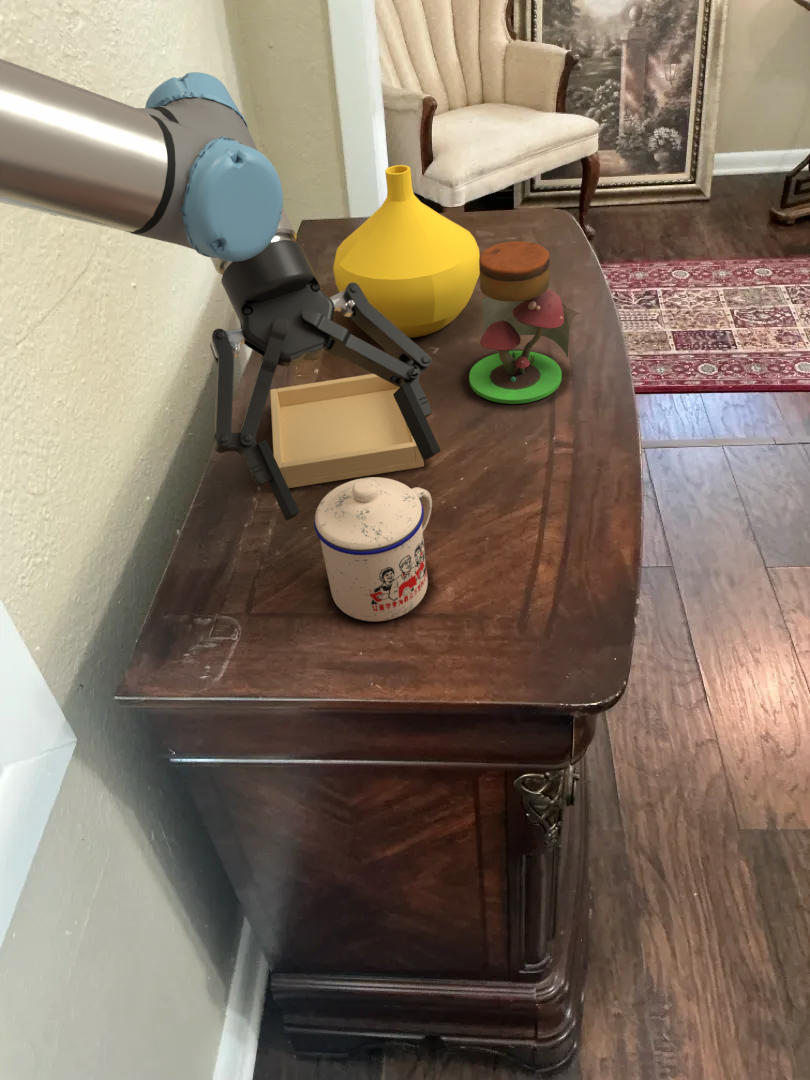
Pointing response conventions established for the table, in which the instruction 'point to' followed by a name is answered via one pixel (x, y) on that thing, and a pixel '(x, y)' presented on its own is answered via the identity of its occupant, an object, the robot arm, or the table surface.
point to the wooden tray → (340, 431)
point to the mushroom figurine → (518, 324)
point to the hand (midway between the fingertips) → (364, 485)
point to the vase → (410, 261)
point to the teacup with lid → (374, 546)
